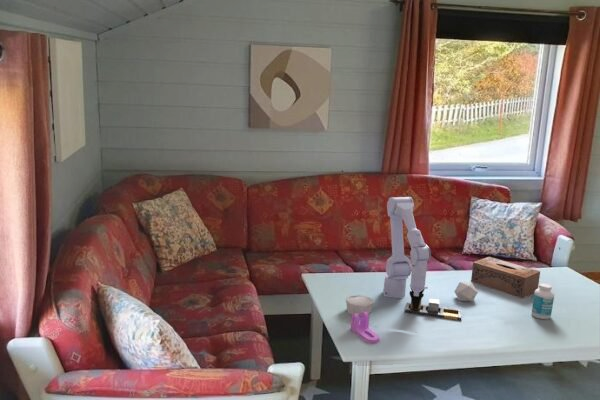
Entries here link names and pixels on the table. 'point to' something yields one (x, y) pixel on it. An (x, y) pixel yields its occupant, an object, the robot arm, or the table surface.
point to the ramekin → (359, 304)
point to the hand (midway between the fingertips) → (415, 306)
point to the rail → (442, 313)
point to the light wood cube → (416, 309)
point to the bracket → (363, 327)
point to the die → (466, 291)
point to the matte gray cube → (433, 305)
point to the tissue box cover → (505, 277)
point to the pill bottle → (543, 301)
